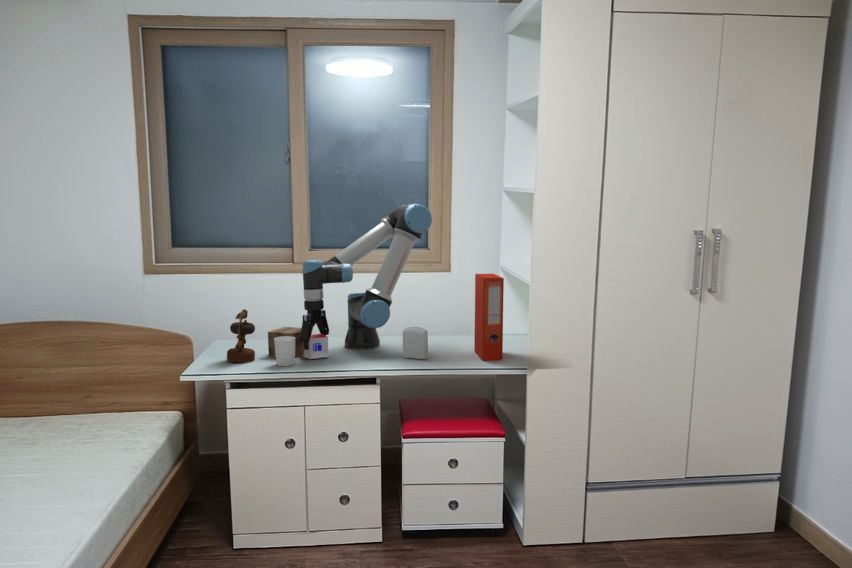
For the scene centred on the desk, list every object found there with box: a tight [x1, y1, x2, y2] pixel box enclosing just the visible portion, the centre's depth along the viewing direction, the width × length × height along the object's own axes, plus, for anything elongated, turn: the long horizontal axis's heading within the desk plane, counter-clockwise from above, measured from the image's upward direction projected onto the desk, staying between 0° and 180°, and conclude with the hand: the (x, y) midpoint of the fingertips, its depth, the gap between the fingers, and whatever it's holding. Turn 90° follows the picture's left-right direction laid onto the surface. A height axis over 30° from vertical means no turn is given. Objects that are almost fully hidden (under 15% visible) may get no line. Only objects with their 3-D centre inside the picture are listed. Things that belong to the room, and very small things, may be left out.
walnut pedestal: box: [267, 326, 304, 359], centre depth 258 cm, size 12×12×10 cm
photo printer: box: [402, 326, 429, 360], centre depth 250 cm, size 10×4×12 cm, turn 65°
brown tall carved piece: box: [226, 308, 256, 363], centre depth 249 cm, size 15×11×20 cm
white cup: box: [274, 336, 296, 367], centre depth 242 cm, size 8×8×10 cm
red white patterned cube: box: [303, 333, 330, 360], centre depth 253 cm, size 8×8×8 cm
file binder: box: [473, 273, 505, 362], centre depth 252 cm, size 8×17×32 cm, turn 6°
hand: (316, 354), depth 253 cm, fingers closed on red white patterned cube, 11 cm apart
